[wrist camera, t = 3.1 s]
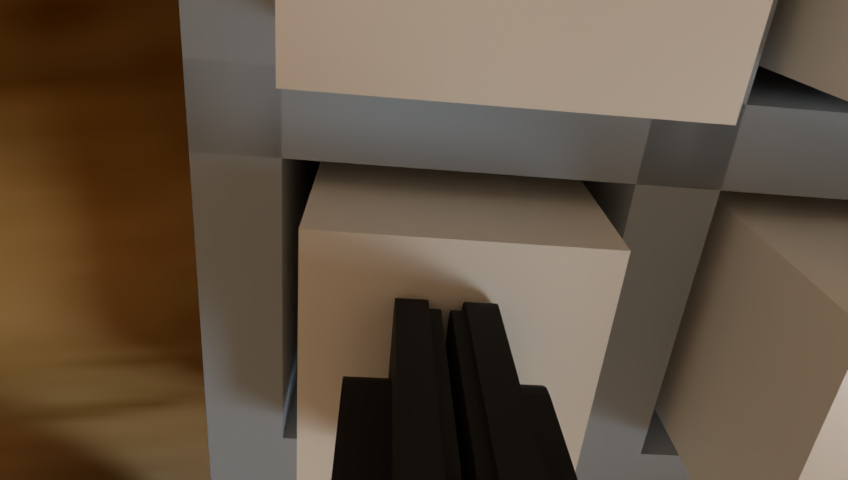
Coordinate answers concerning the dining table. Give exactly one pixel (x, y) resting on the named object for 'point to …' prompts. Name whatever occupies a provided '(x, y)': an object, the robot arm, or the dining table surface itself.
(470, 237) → the button
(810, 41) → the button
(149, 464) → the dining table surface
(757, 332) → the button
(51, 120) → the dining table surface
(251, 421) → the board
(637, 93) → the button
